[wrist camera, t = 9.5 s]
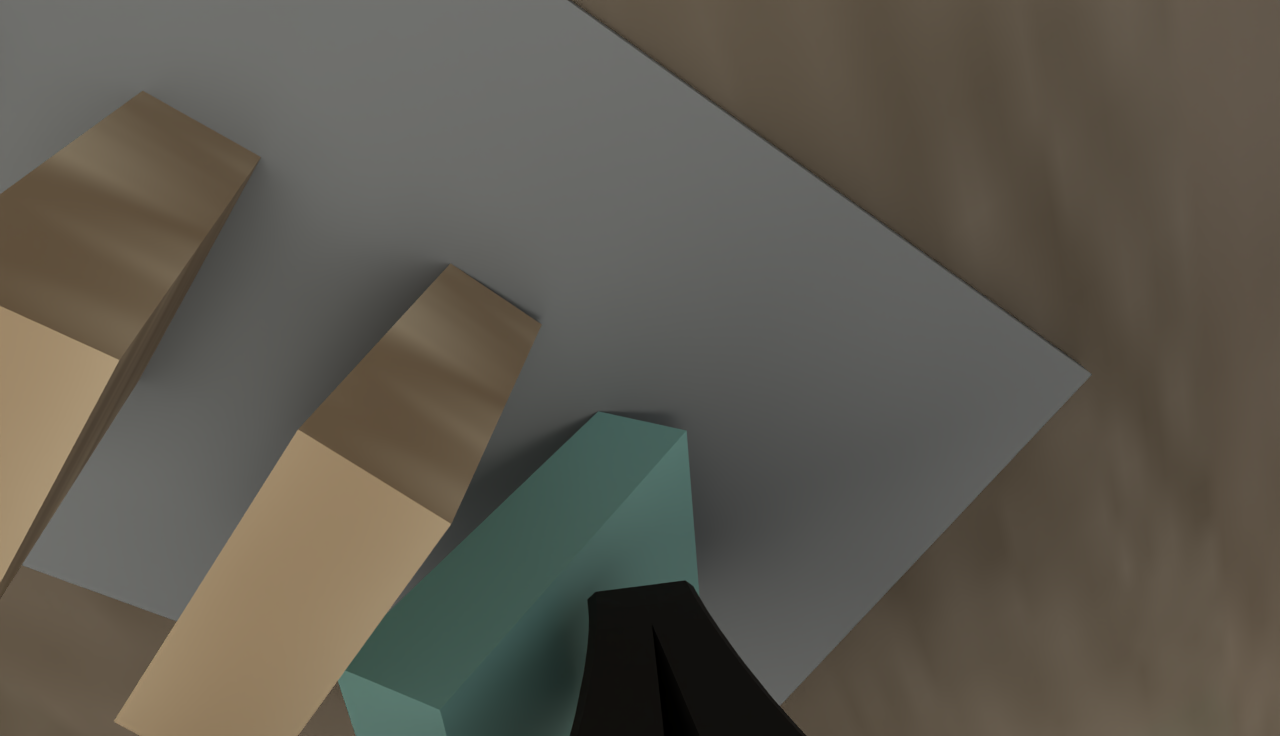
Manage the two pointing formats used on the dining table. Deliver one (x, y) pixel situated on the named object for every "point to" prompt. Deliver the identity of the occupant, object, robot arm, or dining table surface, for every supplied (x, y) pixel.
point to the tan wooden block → (96, 290)
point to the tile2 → (339, 523)
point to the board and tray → (528, 295)
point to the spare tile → (529, 591)
